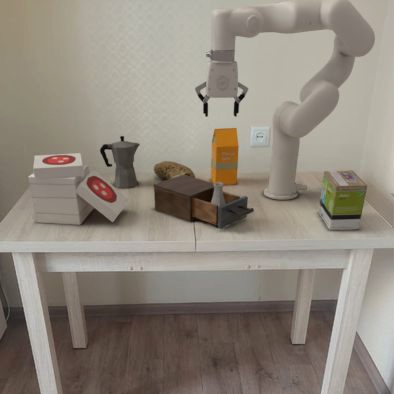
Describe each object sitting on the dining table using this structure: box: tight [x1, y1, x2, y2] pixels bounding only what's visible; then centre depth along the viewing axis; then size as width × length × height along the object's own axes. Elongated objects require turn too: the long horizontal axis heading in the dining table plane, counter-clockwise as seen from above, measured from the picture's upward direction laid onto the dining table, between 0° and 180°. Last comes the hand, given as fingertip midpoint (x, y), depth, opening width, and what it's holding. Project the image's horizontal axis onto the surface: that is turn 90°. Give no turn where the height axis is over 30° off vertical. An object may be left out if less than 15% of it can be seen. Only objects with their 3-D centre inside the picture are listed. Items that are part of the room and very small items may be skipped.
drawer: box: [192, 190, 255, 230], centre depth 160 cm, size 21×14×7 cm, turn 48°
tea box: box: [317, 170, 368, 231], centre depth 159 cm, size 15×10×15 cm
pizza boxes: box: [27, 152, 130, 226], centre depth 161 cm, size 19×30×18 cm, turn 83°
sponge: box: [153, 160, 196, 180], centre depth 195 cm, size 13×8×20 cm
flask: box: [211, 182, 226, 211], centre depth 160 cm, size 7×7×10 cm
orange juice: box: [210, 127, 240, 186], centre depth 190 cm, size 8×9×20 cm
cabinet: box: [153, 175, 214, 223], centre depth 169 cm, size 17×15×9 cm
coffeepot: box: [99, 135, 141, 189], centre depth 187 cm, size 15×9×18 cm, turn 111°
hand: (220, 115), depth 163 cm, fingers open, 9 cm apart
